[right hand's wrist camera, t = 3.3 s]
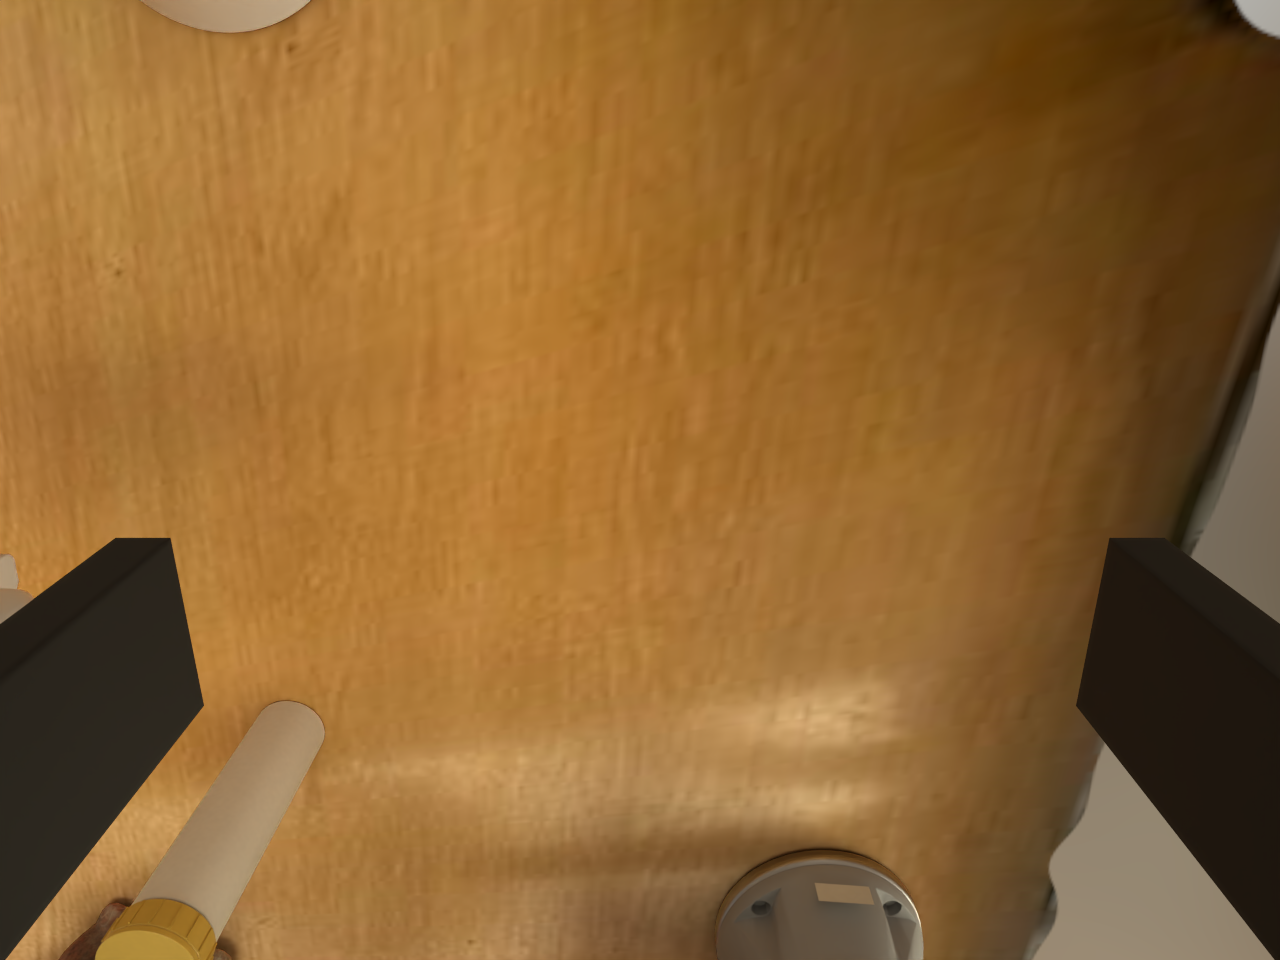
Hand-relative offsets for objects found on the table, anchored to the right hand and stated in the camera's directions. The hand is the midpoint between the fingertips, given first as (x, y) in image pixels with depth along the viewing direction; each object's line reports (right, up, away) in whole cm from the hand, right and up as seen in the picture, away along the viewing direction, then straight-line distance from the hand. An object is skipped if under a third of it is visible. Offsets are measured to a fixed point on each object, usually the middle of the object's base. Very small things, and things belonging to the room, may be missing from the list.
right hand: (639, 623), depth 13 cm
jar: (-24, -15, +49) cm, 57 cm away
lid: (-24, -22, +31) cm, 45 cm away
